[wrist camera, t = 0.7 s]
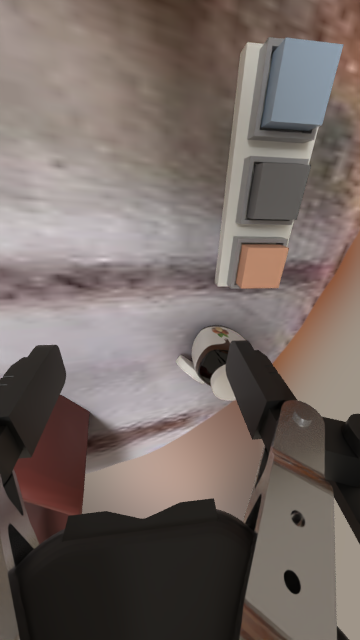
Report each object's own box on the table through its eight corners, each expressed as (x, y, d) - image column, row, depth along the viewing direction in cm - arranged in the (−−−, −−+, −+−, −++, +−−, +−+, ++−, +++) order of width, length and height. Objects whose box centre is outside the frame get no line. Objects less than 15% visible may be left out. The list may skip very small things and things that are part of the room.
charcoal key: (254, 165, 26) (263, 162, 24) (298, 167, 26) (311, 164, 24) (246, 217, 28) (253, 218, 26) (286, 218, 29) (296, 219, 27)
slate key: (272, 53, 21) (285, 37, 19) (325, 58, 22) (343, 44, 20) (260, 127, 24) (271, 121, 22) (307, 131, 25) (321, 124, 23)
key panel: (240, 53, 24) (255, 28, 20) (324, 62, 25) (353, 41, 21) (214, 282, 36) (221, 291, 33) (271, 281, 37) (283, 290, 34)
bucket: (126, 423, 52) (108, 585, 30) (64, 462, 57) (10, 626, 35) (33, 365, 41) (-101, 557, 19) (-35, 420, 46) (-202, 622, 24)
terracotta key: (241, 244, 30) (248, 247, 28) (279, 244, 31) (288, 247, 29) (235, 282, 33) (241, 288, 31) (270, 282, 34) (278, 287, 31)
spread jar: (246, 329, 42) (275, 371, 32) (223, 372, 47) (242, 420, 37) (188, 316, 39) (200, 357, 29) (170, 363, 44) (175, 412, 34)
